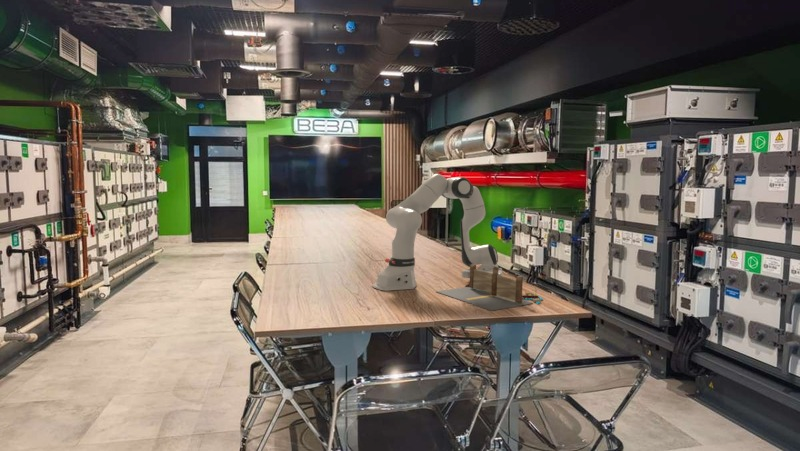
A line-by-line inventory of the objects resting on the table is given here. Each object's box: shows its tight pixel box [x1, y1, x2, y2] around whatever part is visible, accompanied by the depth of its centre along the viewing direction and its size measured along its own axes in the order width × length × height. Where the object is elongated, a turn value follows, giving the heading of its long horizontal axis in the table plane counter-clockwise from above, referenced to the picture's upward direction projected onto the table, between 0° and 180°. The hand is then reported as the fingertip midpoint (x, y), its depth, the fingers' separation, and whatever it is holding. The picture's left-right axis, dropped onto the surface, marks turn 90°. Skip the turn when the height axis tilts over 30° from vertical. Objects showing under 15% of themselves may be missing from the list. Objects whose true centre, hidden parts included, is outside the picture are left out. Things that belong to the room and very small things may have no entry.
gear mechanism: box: [522, 287, 544, 305], centre depth 238 cm, size 20×5×9 cm
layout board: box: [435, 286, 534, 312], centre depth 239 cm, size 24×39×1 cm, turn 32°
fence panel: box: [469, 264, 493, 293], centre depth 249 cm, size 2×15×11 cm, turn 32°
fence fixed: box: [492, 267, 524, 303], centre depth 235 cm, size 2×18×13 cm, turn 33°
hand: (478, 277), depth 257 cm, fingers closed
